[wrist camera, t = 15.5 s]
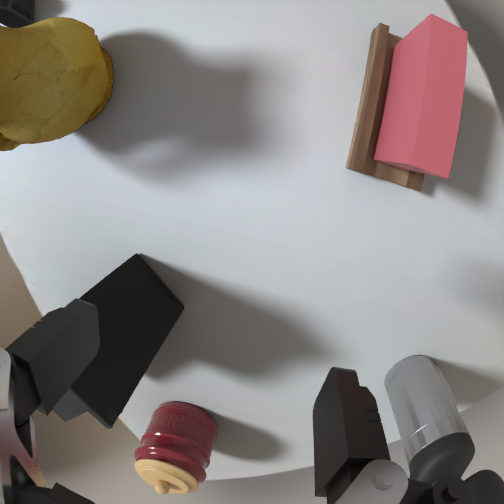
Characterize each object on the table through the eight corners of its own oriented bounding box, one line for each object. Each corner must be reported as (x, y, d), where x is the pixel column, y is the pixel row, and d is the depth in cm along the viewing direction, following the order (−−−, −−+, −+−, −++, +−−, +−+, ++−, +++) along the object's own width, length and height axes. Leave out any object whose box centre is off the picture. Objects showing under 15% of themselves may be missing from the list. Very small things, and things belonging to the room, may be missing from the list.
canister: (143, 403, 53) (107, 470, 36) (197, 394, 50) (168, 474, 33) (177, 442, 56) (153, 506, 39) (230, 437, 53) (213, 510, 36)
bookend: (106, 365, 51) (42, 453, 28) (67, 322, 49) (-12, 399, 26) (187, 306, 44) (116, 427, 22) (138, 250, 42) (27, 338, 20)
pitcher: (147, 100, 35) (-17, 72, 11) (57, 165, 40) (-80, 196, 16) (113, 12, 31) (-12, -42, 7) (33, 82, 36) (-86, 79, 12)
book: (421, 59, 28) (467, 32, 17) (401, 168, 33) (448, 179, 22) (392, 48, 28) (431, 13, 17) (371, 159, 33) (409, 164, 22)
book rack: (433, 56, 29) (445, 50, 25) (410, 187, 35) (420, 191, 32) (371, 32, 29) (378, 22, 26) (345, 167, 35) (351, 169, 32)
